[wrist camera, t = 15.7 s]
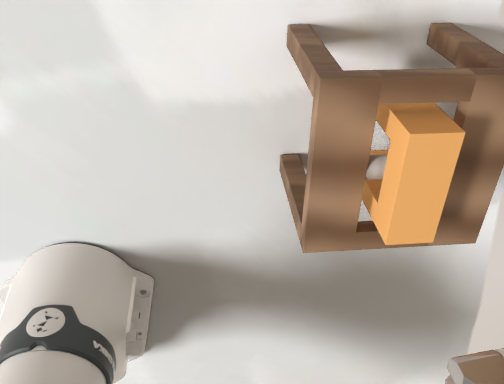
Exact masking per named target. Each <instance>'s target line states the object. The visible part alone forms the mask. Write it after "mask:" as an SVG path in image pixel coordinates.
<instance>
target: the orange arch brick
mask: <svg viewBox="0 0 504 384" xmlns="http://www.w3.org/2000/svg"><path fill="white" fill-rule="evenodd" d="M376 121H377V122H378V123H379V125H380V126H381V128H382V129H383V130H384V132H385V133H386V134H387V136H388V137H389V138H390V145H389V150H371V151H370V155H380V154H388V155H387V160H386V165H385V170H384V175H383V179H366V180H365V184H364V189H363V195H362V200H363V202H364V204H365V206H366V208H367V210H368V212H369V214H370V216H371V218H372V220H373V222H374V224H375V226H376V228H377V230H378V232H379V233H380V235H381V237H382V239H383V241H384V243H385V245H398V244H416V243H433V241H434V237H435V234H436V231H437V227H438V224H439V220H440V217H441V214H442V210H443V207H444V204H445V200H446V197H447V193H448V190H449V187H450V183H451V180H452V177H453V173H454V170H455V166H456V163H457V160H458V156H459V153H460V150H461V146H462V143H463V139H464V136H465V133H466V132H465V131H464V130H463V129H461V128H460V127H459V126H458V125H457V124H456V123H455V122H454V121H453V120H452V119H451V118H450V117H449V116H448V115H447V114H446V113H445V112H444V111H443V110H442V109H441V108H440V107H439V106H438V105H437V104H436V103H435V102H429V103H392V104H378V110H377V116H376Z"/></svg>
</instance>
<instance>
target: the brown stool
mask: <svg viewBox="0 0 504 384" xmlns="http://www.w3.org/2000/svg"><path fill="white" fill-rule="evenodd" d="M427 45H429V46H430V47H431V48H433V49H434V50H435V51H437V52H438V53H439V54H441V55H442V56H443V57H445V58H446V59H447V60H449V61H450V62H451V63H453V64H454V65H455V66H457V67H458V68H452V69H403V70H354V71H343V70H342V69H341V67H340V66H339V65H338V63H337V62H336V60H335V59H334V58H333V56H332V55H331V54H330V52H329V51H328V50H327V48H326V47H325V46H324V44H323V43H322V42H321V40H320V39H319V38H318V36H317V35H316V34H315V32H314V31H313V29H312V28H311V27H310V25H288V33H287V48H288V50H289V51H290V53H291V55H292V57H293V59H294V61H295V63H296V65H297V67H298V69H299V70H300V72H301V74H302V76H303V78H304V80H305V82H306V84H307V86H308V88H309V89H310V91H311V93H312V95H313V97H314V99H313V109H312V120H311V131H310V141H309V152H308V163H307V173H305V171H304V168H303V165H302V162H301V160H300V157H299V154H292V155H281V157H280V173H281V177H282V180H283V184H284V187H285V191H286V194H287V198H288V201H289V205H290V208H291V212H292V215H293V219H294V222H295V226H296V229H297V233H298V236H299V240H300V243H301V247H302V250H303V253H308V252H326V251H344V250H361V249H379V248H397V247H415V246H433V245H451V244H469V243H476V240H477V237H478V234H479V232H480V229H481V226H482V223H483V221H484V218H485V215H486V212H487V210H488V207H489V204H490V201H491V198H492V196H493V193H494V190H495V187H496V185H497V182H498V179H499V176H500V174H501V171H502V168H503V165H504V54H502V53H500V52H499V51H497V50H495V49H494V48H492V47H490V46H489V45H487V44H485V43H484V42H482V41H480V40H479V39H477V38H475V37H474V36H472V35H470V34H468V33H467V32H465V31H463V30H462V29H460V28H458V27H457V26H455V25H453V24H452V23H431V26H430V31H429V35H428V40H427ZM429 102H458V105H457V109H456V113H455V116H454V120H453V121H454V122H455V123H456V124H457V125H458V126H459V127H460V128H461V129H463V130H464V131H465V132H466V133H465V136H464V139H463V143H462V146H461V150H460V153H459V156H458V160H457V163H456V166H455V170H454V173H453V177H452V180H451V183H450V187H449V190H448V193H447V197H446V200H445V204H444V207H443V210H442V214H441V217H440V220H439V224H438V227H437V231H436V234H435V237H434V241H433V243H416V244H398V245H385V243H384V241H383V239H382V237H381V235H380V233H379V232H378V230H377V228H376V226H375V224H374V222H373V221H361V222H358V218H359V212H360V206H361V201H362V195H363V189H364V184H365V180H366V179H383V175H384V170H385V165H386V160H387V155H388V154H380V155H370V150H371V144H372V138H373V133H374V127H375V121H376V116H377V110H378V104H392V103H429Z"/></svg>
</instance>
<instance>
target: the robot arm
mask: <svg viewBox="0 0 504 384" xmlns="http://www.w3.org/2000/svg"><path fill="white" fill-rule="evenodd" d="M153 288H154V280H153V278H152V277H151V276H149V275H147V274H145V273H142V272H140V271H137V270H134V269H133V268H131V267H130V266H128V265H127V264H126V263H125V262H124V261H123V260H121V259H120V258H119V257H117V256H116V255H114V254H112V253H111V252H109V251H107V250H104V249H102V248H99V247H96V246H92V245H87V244H80V243H63V244H56V245H52V246H48V247H45V248H42V249H40V250H38V251H36V252H35V253H33V254H32V255H30V256H29V257H28V258H27V259H26V260H25V261H24V262H23V264H22V265H21V267H20V269H19V271H18V272H17V274H16V275H15V276H14V277H12V278H11V279H9V280H7V281H6V282H5V283H3V284H2V285H1V287H0V298H1V300H2V301H3V302H4V306H3V309H2V312H1V315H0V384H113V383H115V382H117V381H119V380H120V379H122V378H123V377H124V376H125V374H126V368H127V362H129V361H132V360H134V359H137V358H139V357H140V356H142V355H143V354H144V351H145V347H146V340H147V333H148V325H149V318H150V310H151V303H152V296H153ZM142 290H145V291H142ZM447 368H448V370H449V372H450V374H451V375H450V376H449V377H448V378H447V379H446V380H445V384H504V348H502V349H497V350H489V351H484V352H479V353H475V354H469V355H464V356H459V357H454V358H451V359H450V360H448V366H447Z"/></svg>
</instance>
